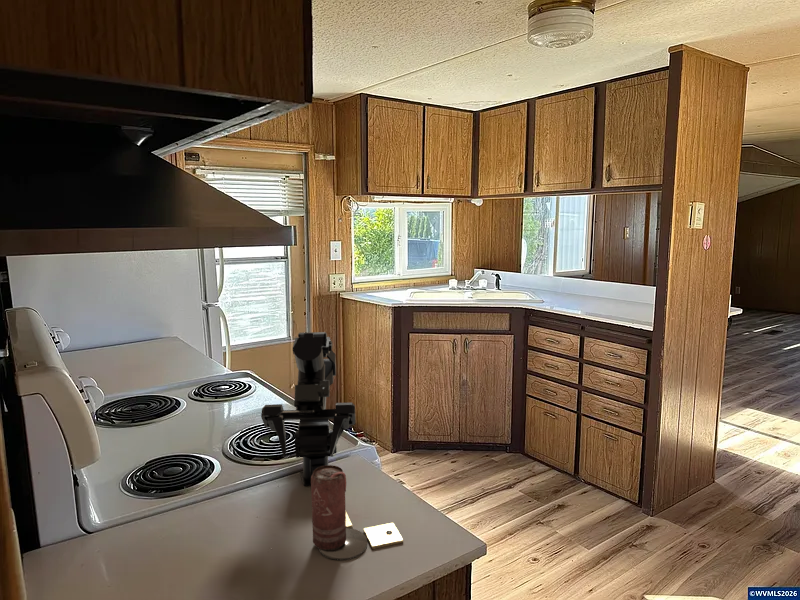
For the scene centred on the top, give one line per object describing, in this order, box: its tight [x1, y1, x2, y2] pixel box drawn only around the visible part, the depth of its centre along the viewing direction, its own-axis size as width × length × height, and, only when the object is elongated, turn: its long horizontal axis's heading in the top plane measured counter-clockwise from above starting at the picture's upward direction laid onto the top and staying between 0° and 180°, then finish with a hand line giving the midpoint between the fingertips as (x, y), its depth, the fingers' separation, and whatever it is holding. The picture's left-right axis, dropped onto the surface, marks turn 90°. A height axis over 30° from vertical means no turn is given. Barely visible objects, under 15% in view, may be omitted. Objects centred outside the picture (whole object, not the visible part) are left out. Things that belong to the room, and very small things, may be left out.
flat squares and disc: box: [318, 511, 404, 561], centre depth 106 cm, size 15×15×1 cm
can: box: [310, 464, 347, 551], centre depth 101 cm, size 6×6×14 cm
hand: (307, 455), depth 108 cm, fingers open, 9 cm apart
